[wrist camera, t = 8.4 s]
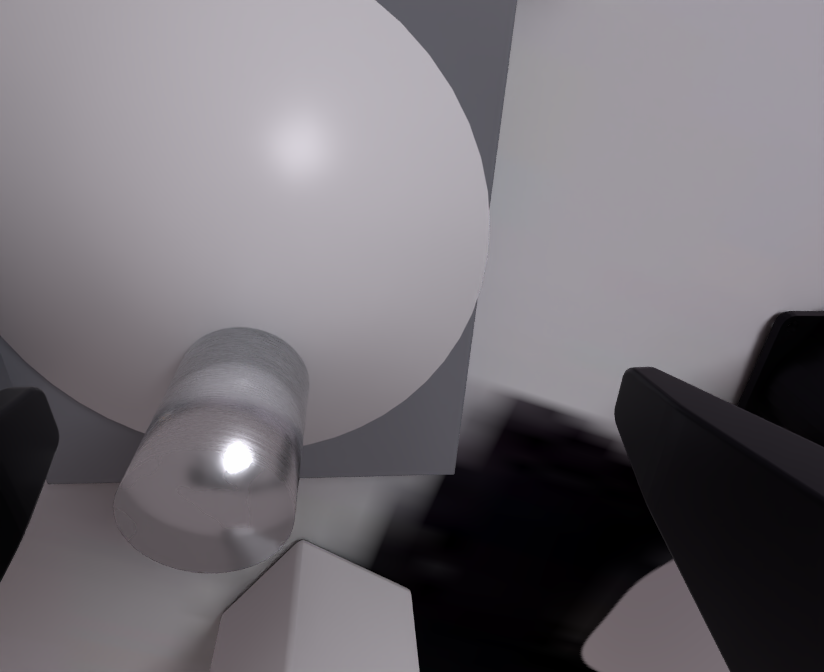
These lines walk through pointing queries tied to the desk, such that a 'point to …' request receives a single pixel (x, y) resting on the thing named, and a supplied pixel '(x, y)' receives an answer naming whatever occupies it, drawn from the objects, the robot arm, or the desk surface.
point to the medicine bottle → (318, 619)
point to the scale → (249, 211)
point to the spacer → (220, 456)
